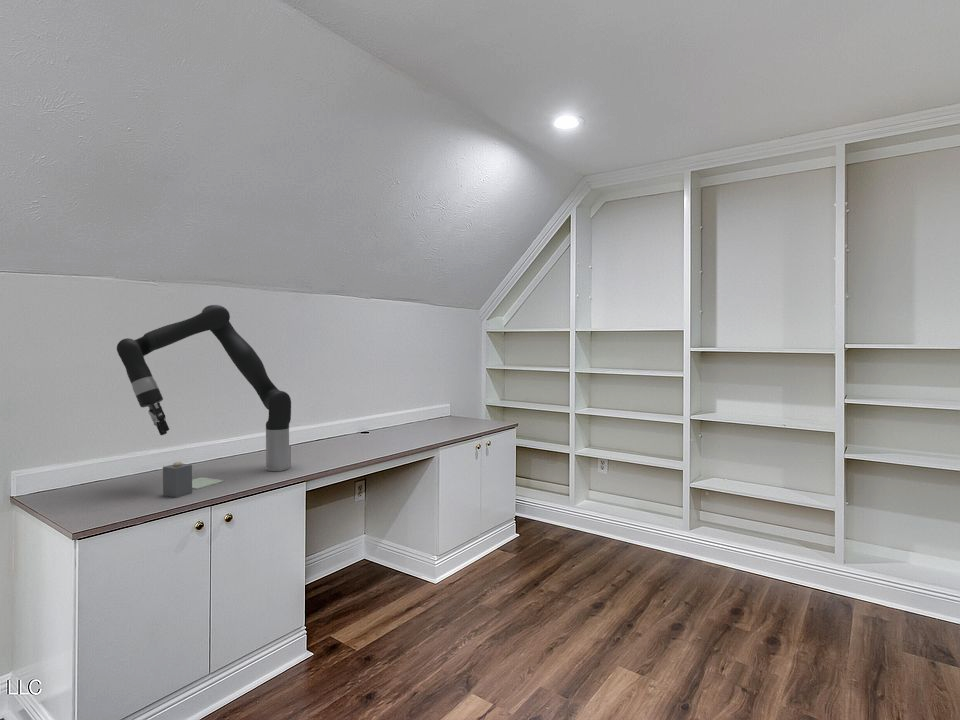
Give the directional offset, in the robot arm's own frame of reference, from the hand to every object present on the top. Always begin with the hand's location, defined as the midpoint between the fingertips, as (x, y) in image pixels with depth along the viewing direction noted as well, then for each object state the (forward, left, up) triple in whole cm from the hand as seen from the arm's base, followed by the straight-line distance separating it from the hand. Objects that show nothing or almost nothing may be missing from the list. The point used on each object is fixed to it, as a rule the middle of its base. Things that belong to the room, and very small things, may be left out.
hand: (165, 432), depth 199 cm
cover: (+2, +9, -21) cm, 23 cm away
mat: (-11, +4, -21) cm, 23 cm away
